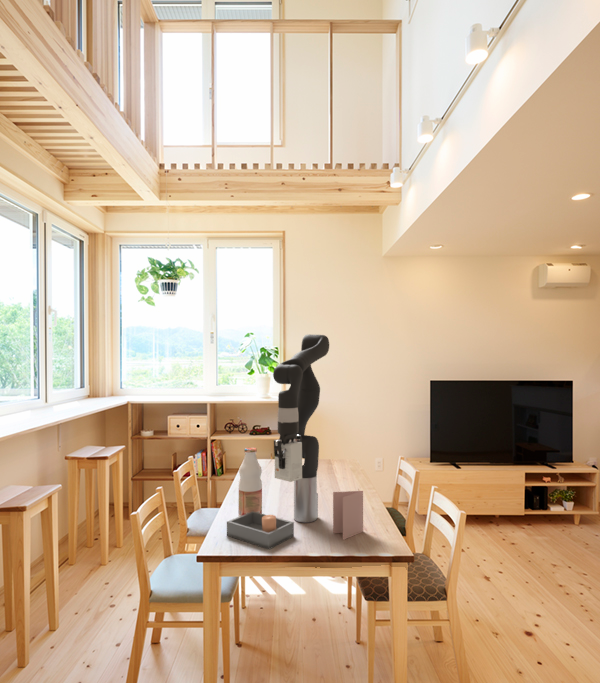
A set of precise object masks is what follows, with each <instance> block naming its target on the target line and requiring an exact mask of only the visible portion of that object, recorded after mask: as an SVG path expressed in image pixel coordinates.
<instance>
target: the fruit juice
mask: <svg viewBox="0 0 600 683" xmlns="http://www.w3.org/2000/svg"><path fill="white" fill-rule="evenodd" d="M238 470H239V471H238V473H239V481H238V516H237V517H240V516H242V515H245V514H247V513H250V512H252V511H254V512H258V513H261V514H263V483H262V482H263V481H262V479H261V476H262V473H263V472H262V471H263V470H262V466H261V465H260V462H259V460H258V458H257V448H256V447H245V448H244V457H243V461H242V463H241V465H240V467H239V469H238Z"/></svg>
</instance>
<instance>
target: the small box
mask: <svg viewBox="0 0 600 683" xmlns="http://www.w3.org/2000/svg"><path fill="white" fill-rule="evenodd" d="M281 448H282V449H285V448H286V452H285V469H280V468H279V458H278V457H275V456H274V479H277V480H282V481H285V482H289V483H291V482H294V481H296V480H299V479H302V465H303V458H302V442H291V443H290V444H285V445H283V443H282V445H281ZM277 453H279V451H277ZM282 454H283V451H282Z"/></svg>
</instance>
